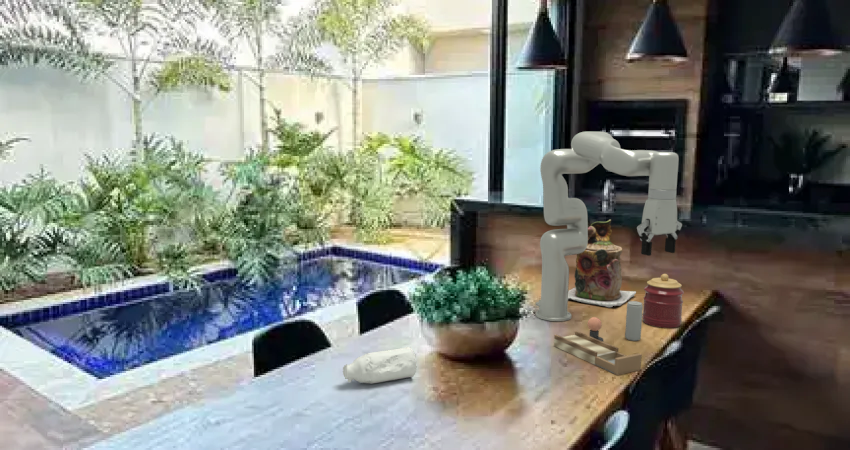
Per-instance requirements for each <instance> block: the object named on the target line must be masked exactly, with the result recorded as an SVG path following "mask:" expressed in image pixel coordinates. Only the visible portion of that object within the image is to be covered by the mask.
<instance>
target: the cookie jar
mask: <svg viewBox="0 0 850 450" xmlns="http://www.w3.org/2000/svg"><path fill="white" fill-rule="evenodd" d="M611 223H612V219H608V220H607V221H595V222H592V223H591V224H590V226H588V244H587V248H586V250H585V251H584V252H583V253H581V254H576V259H575V265H576V267H575V270H574V286H575V287H573V288H571V289H568V300H573V301H577V302H581V303H584V304H590V305H596V306H602V307H606V308H613V306H614V307H616V306H619V307H620V306H622V305H624V304H625V303H626V302H627V301H630V299H632V298H634V297H635V295H636V293H637V291H635V290H634V291H633V290H632V291H630V290H621V287H622V281H623V279H622V277H623V276H622V268H621V267H622V264H621V255H622V253H623V247H622V246H619V245H615V244H614V243H613V242H611V240H610V239H611V235H612V232H613V231H612V229H611V228H612V226H611Z"/></svg>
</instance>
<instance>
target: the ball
mask: <svg viewBox="0 0 850 450" xmlns="http://www.w3.org/2000/svg"><path fill="white" fill-rule="evenodd" d="M602 325H603V324H602V321H601V319H600V318H599V317H596V316H594V317H593V316H592V317H591V318H589V319H588V321H587V327H588V328H589V331H590V330H592V331H600V329H601V328H602Z"/></svg>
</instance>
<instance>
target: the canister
mask: <svg viewBox="0 0 850 450" xmlns="http://www.w3.org/2000/svg"><path fill="white" fill-rule="evenodd" d="M646 283H647V286H645V287H644V289H643V290H644V291H645V294H644V296H643V310H642V323H644V324H646V325H648V326H652V327H656V328H666V329H672V328H673V329H674V328H678V327H680V326H681V324H682V321H683V320H682V313H683V303H684V300H683V296H682V295H684V293H685V292H684V290H683V289H681V288H682V284H681V283H680V282H678V280H676V279H674V278H669V275H668V274H667V273H663V274H661V275H660V277H653V278H651V279H650V280H647V282H646Z"/></svg>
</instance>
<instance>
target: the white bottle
mask: <svg viewBox="0 0 850 450" xmlns="http://www.w3.org/2000/svg"><path fill="white" fill-rule="evenodd" d="M416 358H417V356H416V354H415V351H414V350H413V349H412V347H411V346H410V347H409V346H407V347H401V348H395V349H389V350H381V351H373V352H369V353H365V354H363V355H362V356H359V357H356V358H355V359H354V360H353V361H352V362H351V363H349V364H345V365H344V366H343V367H342V375H343V377H344V379H345V380H347V383H352V381H353V380H354V381H357V382H358V383H360V384H361V383H362V384H370V385H371V384H378V383H384V382H389V381H396V380H400V379H405V378H406V379H407V378H414V376H415V375H416V373H417V367H418V366H417V361H416Z"/></svg>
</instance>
